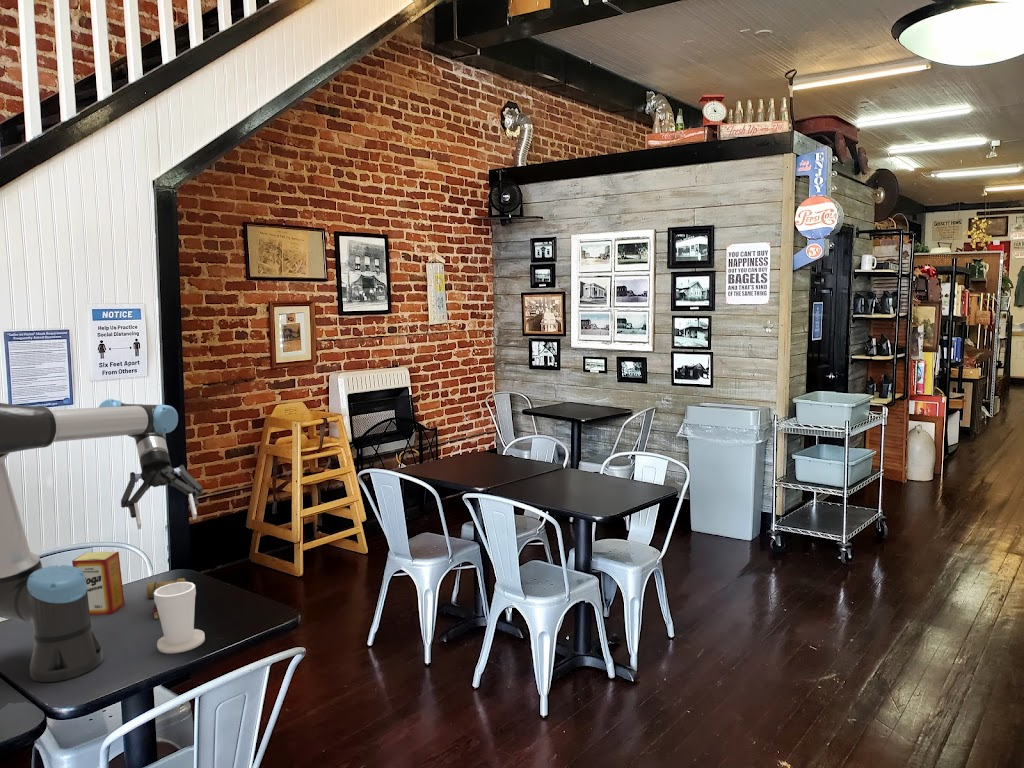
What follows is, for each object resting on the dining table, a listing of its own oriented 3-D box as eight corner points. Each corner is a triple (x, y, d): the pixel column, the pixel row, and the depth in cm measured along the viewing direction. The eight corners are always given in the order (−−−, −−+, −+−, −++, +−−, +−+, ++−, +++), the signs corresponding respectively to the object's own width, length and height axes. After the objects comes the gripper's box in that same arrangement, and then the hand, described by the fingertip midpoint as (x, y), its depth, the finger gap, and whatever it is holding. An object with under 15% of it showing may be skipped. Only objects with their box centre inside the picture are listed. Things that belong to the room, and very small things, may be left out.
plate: (177, 656, 188) (176, 652, 188) (147, 648, 193) (147, 643, 193) (214, 638, 197) (214, 633, 197) (185, 630, 203) (184, 626, 202)
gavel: (174, 607, 211) (134, 612, 208) (176, 622, 212) (136, 628, 209) (185, 575, 231) (148, 580, 228) (186, 589, 232) (150, 594, 229)
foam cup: (208, 634, 197) (203, 584, 195) (178, 650, 189) (173, 598, 187) (180, 628, 201) (175, 580, 199) (150, 644, 193) (145, 593, 191)
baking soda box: (78, 615, 216) (71, 559, 214) (92, 605, 222) (85, 551, 220) (112, 614, 216) (105, 558, 214) (124, 604, 222) (118, 550, 220)
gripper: (200, 457, 226) (215, 519, 215) (104, 471, 213) (115, 538, 202) (202, 442, 221) (218, 505, 210) (103, 455, 208) (115, 523, 197)
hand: (167, 521), depth 206 cm, fingers open, 13 cm apart
